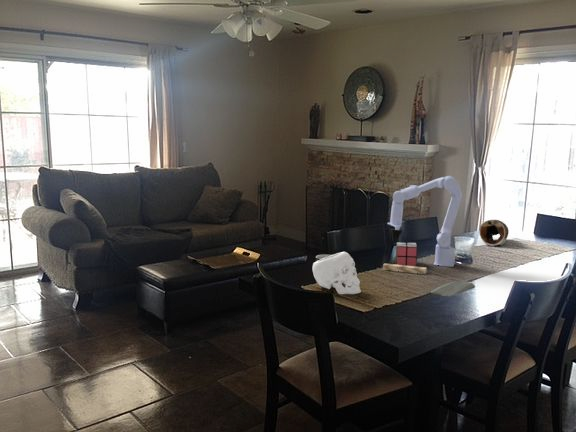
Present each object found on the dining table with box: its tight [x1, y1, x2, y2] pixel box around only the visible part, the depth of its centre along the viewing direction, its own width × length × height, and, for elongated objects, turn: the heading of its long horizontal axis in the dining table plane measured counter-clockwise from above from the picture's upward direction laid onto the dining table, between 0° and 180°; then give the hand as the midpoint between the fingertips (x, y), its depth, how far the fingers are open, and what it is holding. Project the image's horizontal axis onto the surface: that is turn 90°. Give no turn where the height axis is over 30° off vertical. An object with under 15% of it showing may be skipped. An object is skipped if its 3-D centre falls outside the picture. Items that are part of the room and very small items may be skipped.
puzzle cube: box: [395, 241, 418, 267], centre depth 260 cm, size 10×10×10 cm
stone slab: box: [430, 279, 475, 297], centre depth 218 cm, size 22×3×10 cm
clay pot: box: [478, 219, 510, 247], centre depth 308 cm, size 15×15×25 cm
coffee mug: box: [315, 254, 332, 262], centre depth 235 cm, size 12×9×10 cm
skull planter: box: [312, 251, 362, 295], centre depth 218 cm, size 14×20×19 cm
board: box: [382, 263, 427, 275], centre depth 246 cm, size 20×3×2 cm, turn 67°
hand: (393, 241), depth 263 cm, fingers open, 7 cm apart
